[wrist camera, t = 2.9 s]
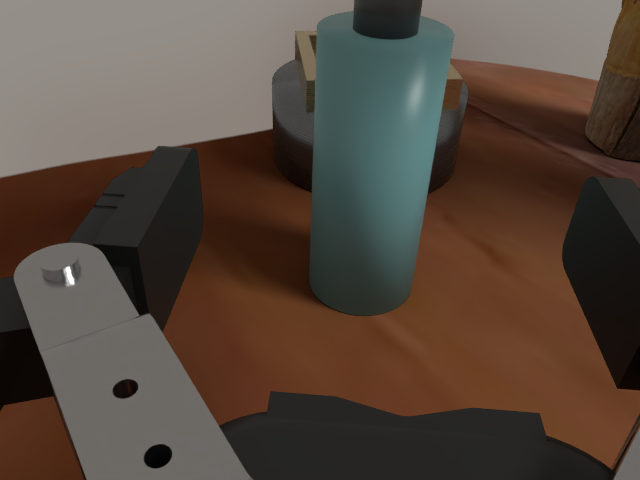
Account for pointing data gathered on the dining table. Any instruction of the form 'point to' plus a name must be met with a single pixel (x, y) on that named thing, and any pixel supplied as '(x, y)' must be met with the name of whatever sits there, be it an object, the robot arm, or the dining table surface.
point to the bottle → (373, 150)
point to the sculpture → (619, 90)
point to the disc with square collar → (298, 117)
